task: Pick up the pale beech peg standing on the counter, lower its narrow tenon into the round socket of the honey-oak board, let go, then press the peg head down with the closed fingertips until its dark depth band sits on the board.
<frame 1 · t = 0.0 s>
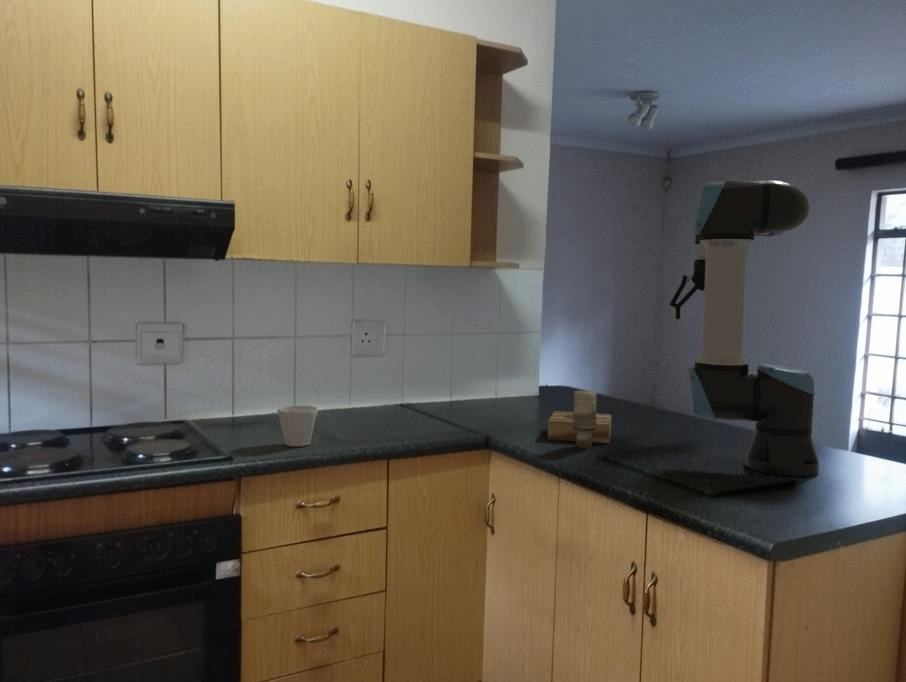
hand: (704, 331, 211), 28 cm above the countertop, fingers open, 13 cm apart
peg: (583, 446, 182), on the countertop
cup: (297, 445, 180), on the countertop
board: (580, 435, 196), on the countertop
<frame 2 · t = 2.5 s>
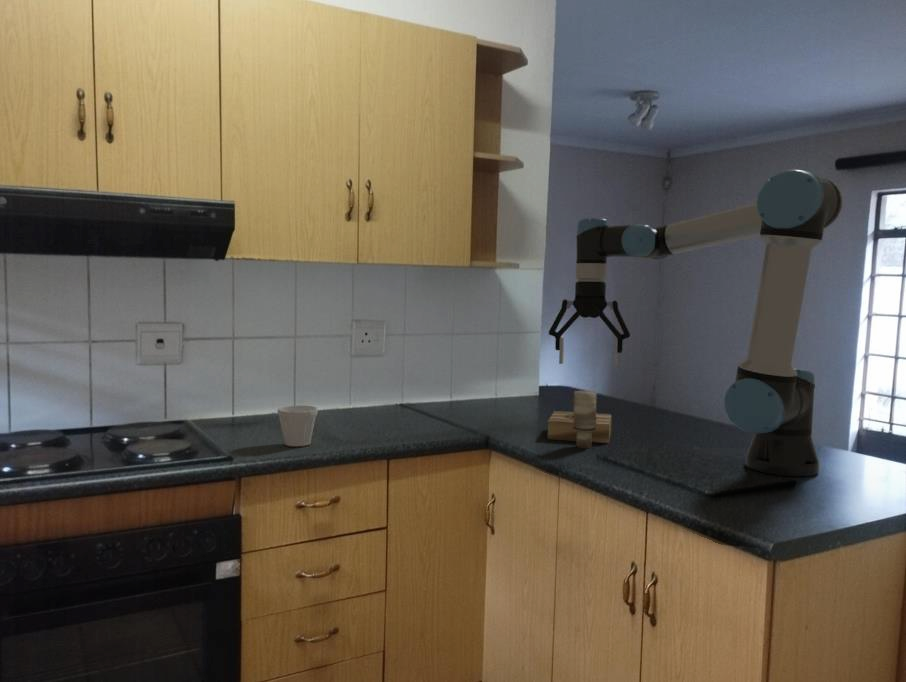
hand: (588, 364, 181), 21 cm above the countertop, fingers open, 13 cm apart
nothing on the countertop moved.
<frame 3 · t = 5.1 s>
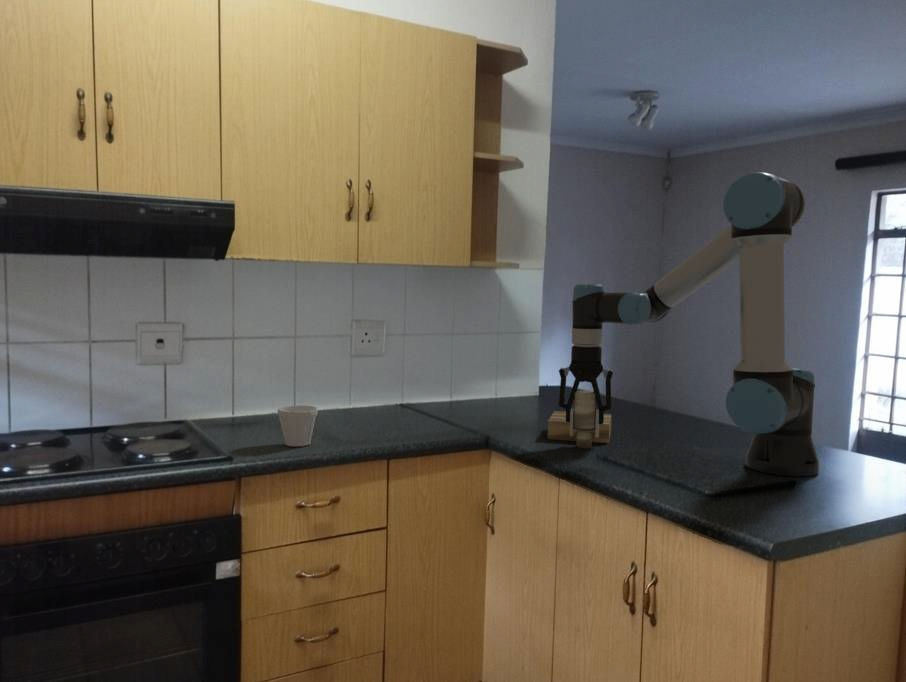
hand: (584, 435, 182), 3 cm above the countertop, fingers closed on peg, 6 cm apart
peg: (583, 446, 182), on the countertop, touching gripper
everything else where it was.
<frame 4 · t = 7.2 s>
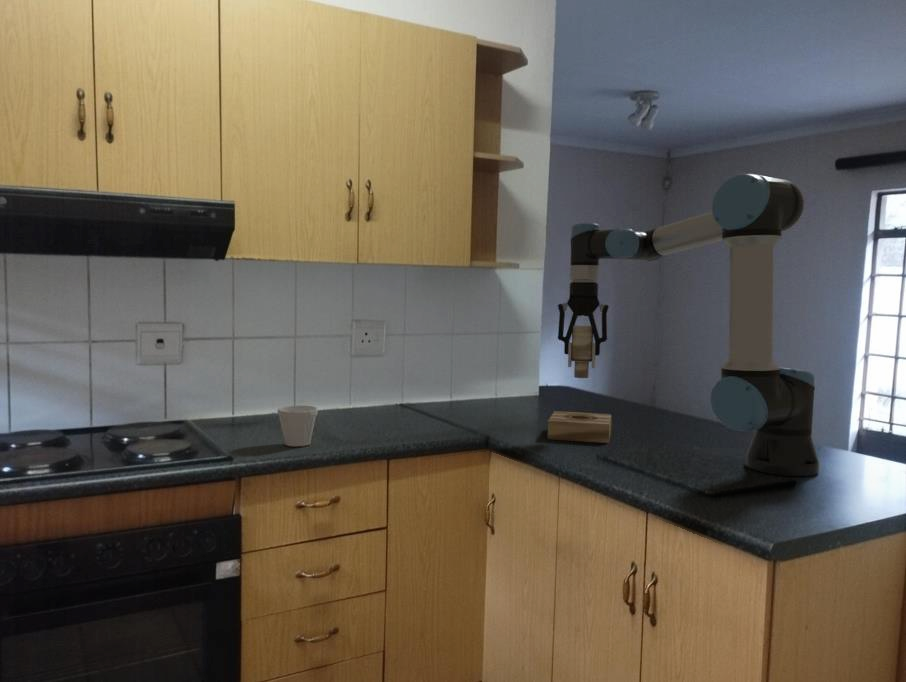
hand: (581, 366, 194), 19 cm above the countertop, fingers closed on peg, 6 cm apart
peg: (581, 377, 194), point 16 cm above the countertop, touching gripper
everything else where it was.
when the fingers open (6 cm above the countertop, at t = 9.4 s): peg drops 3 cm, resting on board.
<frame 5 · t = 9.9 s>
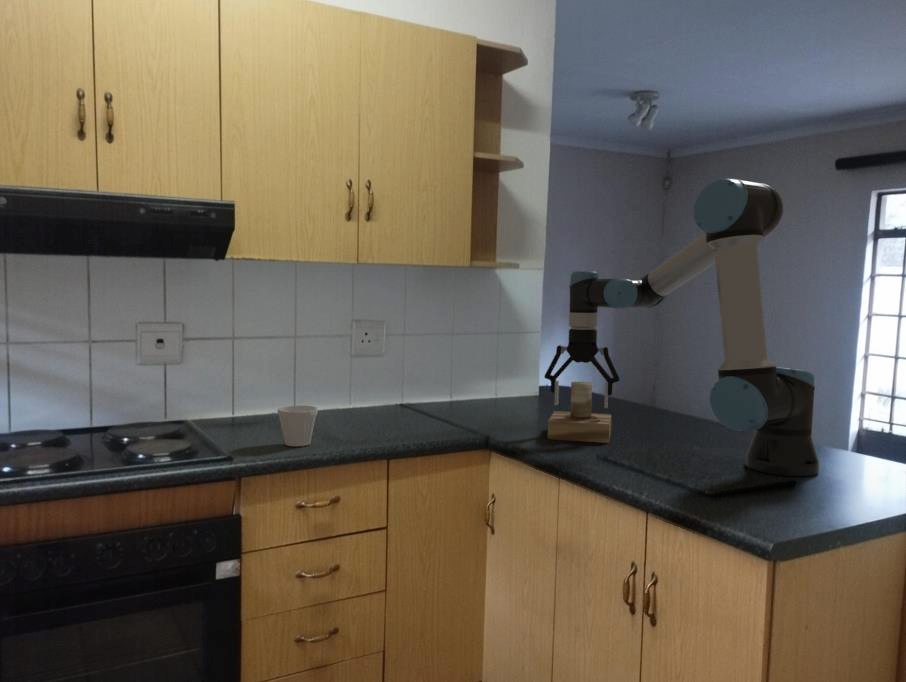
hand: (580, 406, 195), 8 cm above the countertop, fingers open, 13 cm apart
peg: (580, 433, 196), resting on board
everything else where it was.
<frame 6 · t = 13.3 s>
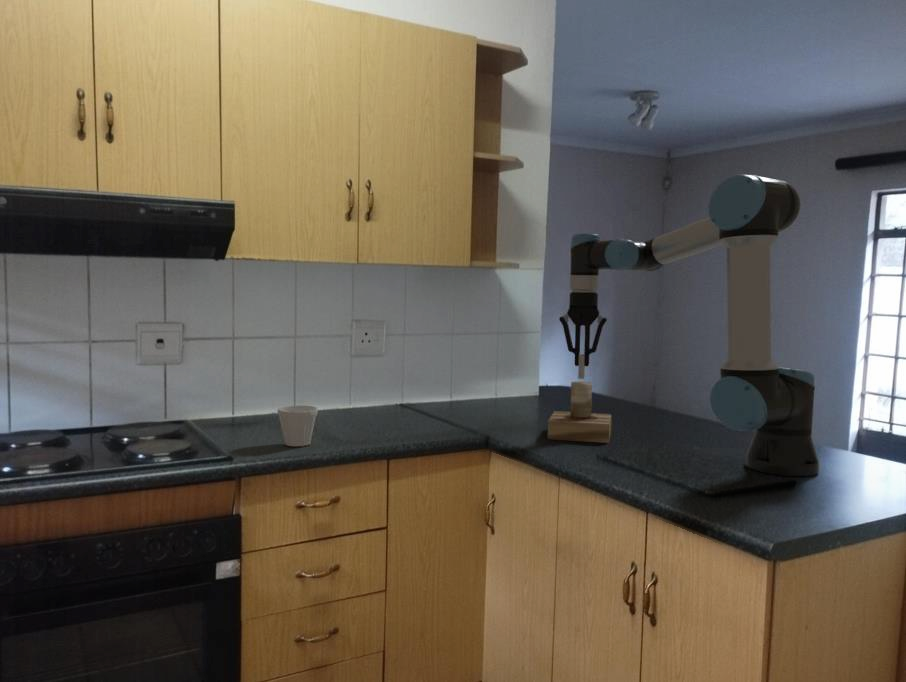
hand: (581, 378, 194), 16 cm above the countertop, fingers closed
nothing on the countertop moved.
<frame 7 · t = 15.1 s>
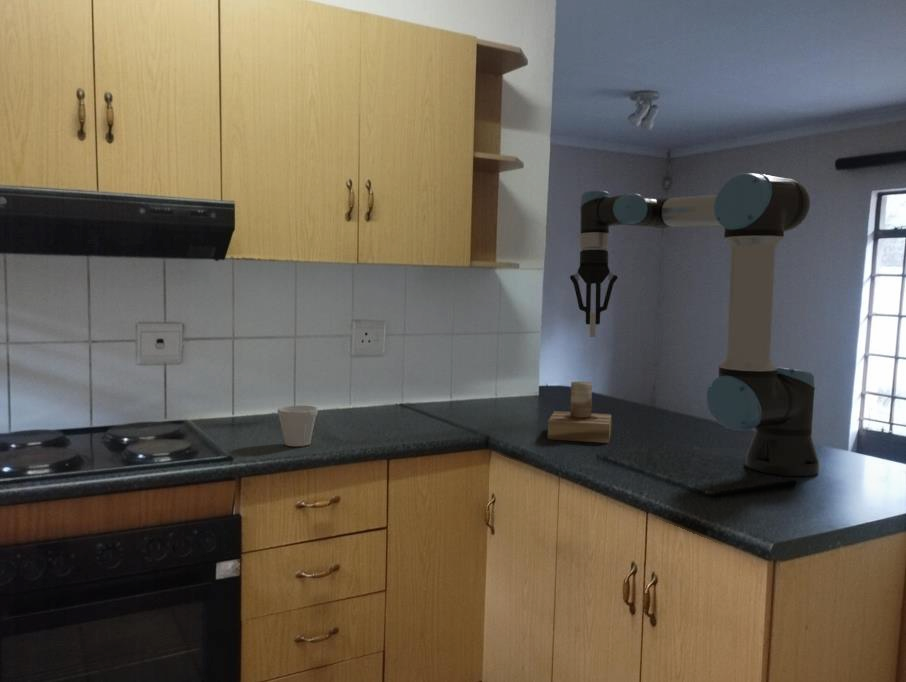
hand: (592, 336, 194), 27 cm above the countertop, fingers closed
nothing on the countertop moved.
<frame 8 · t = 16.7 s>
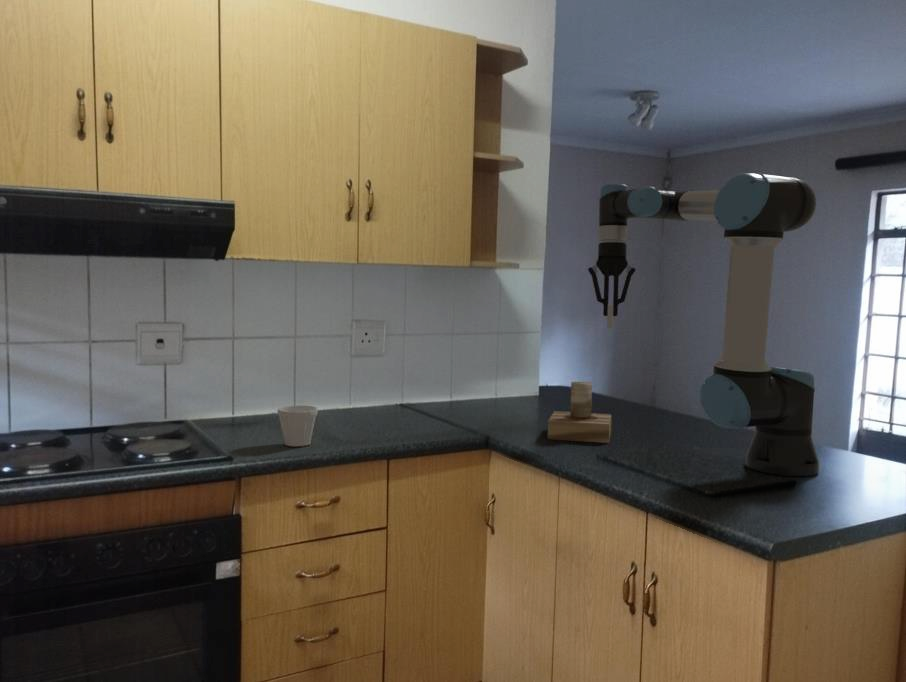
hand: (610, 328, 197), 29 cm above the countertop, fingers closed
nothing on the countertop moved.
at the end: peg 0.0 cm off-centre in the board, point 0.5 cm above the board's base; peg tilted 0°; the gripper is holding nothing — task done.
